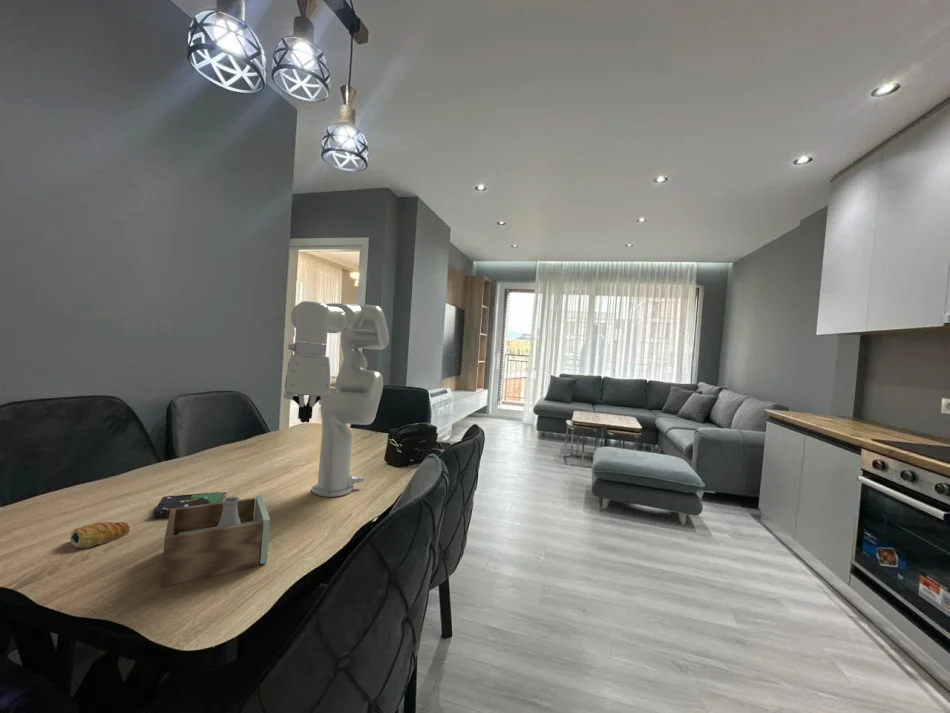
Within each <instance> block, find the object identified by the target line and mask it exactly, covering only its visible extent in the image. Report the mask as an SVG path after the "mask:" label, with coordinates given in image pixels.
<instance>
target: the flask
mask: <svg viewBox="0 0 950 713" xmlns="http://www.w3.org/2000/svg"><path fill="white" fill-rule="evenodd" d="M239 500H240V497H239V496H226V498H224V499H223V500H222V504H223V511H222V515H221V518H220V521H219V523H218V526H217V528H222V527H228V526H234V525H241V522H240V519H239V516H238V510H237V502H238V501H239Z"/></svg>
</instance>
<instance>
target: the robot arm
mask: <svg viewBox="0 0 950 713" xmlns="http://www.w3.org/2000/svg"><path fill="white" fill-rule="evenodd" d="M290 322H291V324H292V326H293V327H294V328H295V337H294V338H295V339H294V342H293V343H292V344H288V345H287V349H288V350H290V351H293V354H290V356H289V361H288V364H287V369H286V375H285V382H284V383H285V384H284V393H283V398H284V399H287V400H291V401H293V402H294V403H296V404H297V405H298V414H297V419H299V420H300V422H301V423H302V424H303V423H304V424H305V423H310V419H312V418H313V407H315V405H316V404H317V403H319V401H321V403H320V415H321V416H320V417H321V437H320V438H321V439H320V452H319V464H318V465H319V466H318V476H317V482H316V483H315V484H313V486H312V487H311V491H312V493H313V494H314V495H316V496H320V497H326V498H327V497H329V498H332V497H333V498H334V497H341V496H345V495H349V494H350V493H351V492H353V491H354V484H357V483H363V482H364V480H365V479H364V476H361V475H360V476H358V475H351V473H350V471H351V459H352V458H351V457H352V449H353V448H352V446H353V445H352V444H353V433H352V432H351V429H350V427H349V426H348V425H361V426H362V425H365V426H366V425H371V424H372V423H373V422H374V421H375V418H376V415H377V413H378V409H379V405H380V401H381V397H382V395H383V388H384V377H383V374H381V373H380V372H379V371H376V370H370V369H369V370H368V369H367V368H368V361H367V358H366V356H365V355H364V354H363V353H362V352H361V351H360V350H359V349H365V350H366V349H367V350H378V351H379V350H384V349H386V348H387V347H388V346H389V342H390V333H389V329H388V325H387V324H388V323H387V320H386V317H385V314H384V311H383V310H382V308H381V307H380V306H379V305H375V304H373V305H372V304H362V303H339V302H337V303H336V302H335V303H332V302H331V303H322V302H317V301H308V300H307V301H300V302H299V303H298V304H296V305H294V307H292V310H291V312H290ZM338 333H340V344H341V349H342V355H343V356H342V357H343V360H342V364H341V366H340V368H339V371H338V374H337V376H336V379H335V382H334V383H335V384H334V390H335V391H336V392H335V393H334V392H333V393H330V391H331V390H330V388H331V364H330V358H329V356H326V355H327V354H326V353H327V343H328V342H327V340H328V334H338ZM305 396H308V398H307V402H306V403H305Z"/></svg>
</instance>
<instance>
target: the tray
mask: <svg viewBox="0 0 950 713" xmlns="http://www.w3.org/2000/svg"><path fill="white" fill-rule="evenodd" d="M259 521H262V533H261V546H260V558H259V565H262V564H267V561H268V552H269V537H270V526H271V518H270V515H269V512H268V510H267V507H266V503H265V501H264V498H263V496H262V495H255V507H254V520H253V521H249V522H243V523H241V524H247V523H253V522H259ZM215 528H217V527H211V528H204V529H198V530H192V531H185V532H179V534H184V533H190V532H197V531H203V530H209V529H215Z"/></svg>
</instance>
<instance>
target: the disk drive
mask: <svg viewBox="0 0 950 713" xmlns="http://www.w3.org/2000/svg"><path fill="white" fill-rule="evenodd" d="M224 498H227V492H226V491H225V492H223V491H221V492H219V491H216V492H206V493H192V494H180V495H179V494H177V495H168V496H163V497H162V498H161V500H160V501H159V503H158V504H157V506H156V507H155V508H154V509H153V514H152V519H153V520H160V519H161V520H162V519H168V518H169V513H170V509H173V508H181V507H188V506H196V505H204V504H212V503H220V502H222V500H223V499H224Z"/></svg>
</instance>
